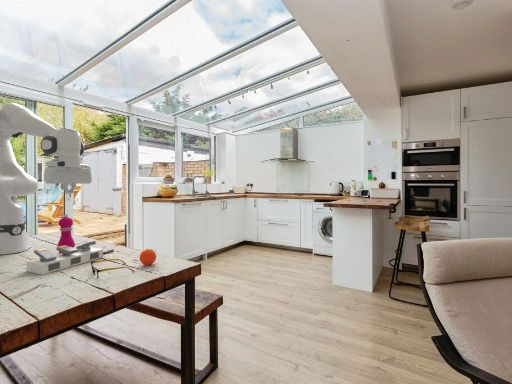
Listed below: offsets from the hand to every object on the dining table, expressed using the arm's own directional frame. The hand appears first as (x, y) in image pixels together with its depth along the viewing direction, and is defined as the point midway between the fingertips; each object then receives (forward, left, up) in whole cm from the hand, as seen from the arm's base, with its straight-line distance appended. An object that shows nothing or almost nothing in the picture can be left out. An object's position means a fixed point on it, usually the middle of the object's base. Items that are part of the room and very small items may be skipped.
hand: (69, 193), depth 131 cm
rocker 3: (+6, +4, -25) cm, 25 cm away
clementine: (+39, +9, -31) cm, 51 cm away
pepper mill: (-10, +5, -31) cm, 33 cm away
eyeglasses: (+32, -4, -31) cm, 45 cm away
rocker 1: (+6, -14, -25) cm, 29 cm away
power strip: (+6, 0, -31) cm, 31 cm away
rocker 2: (+6, -5, -25) cm, 26 cm away
